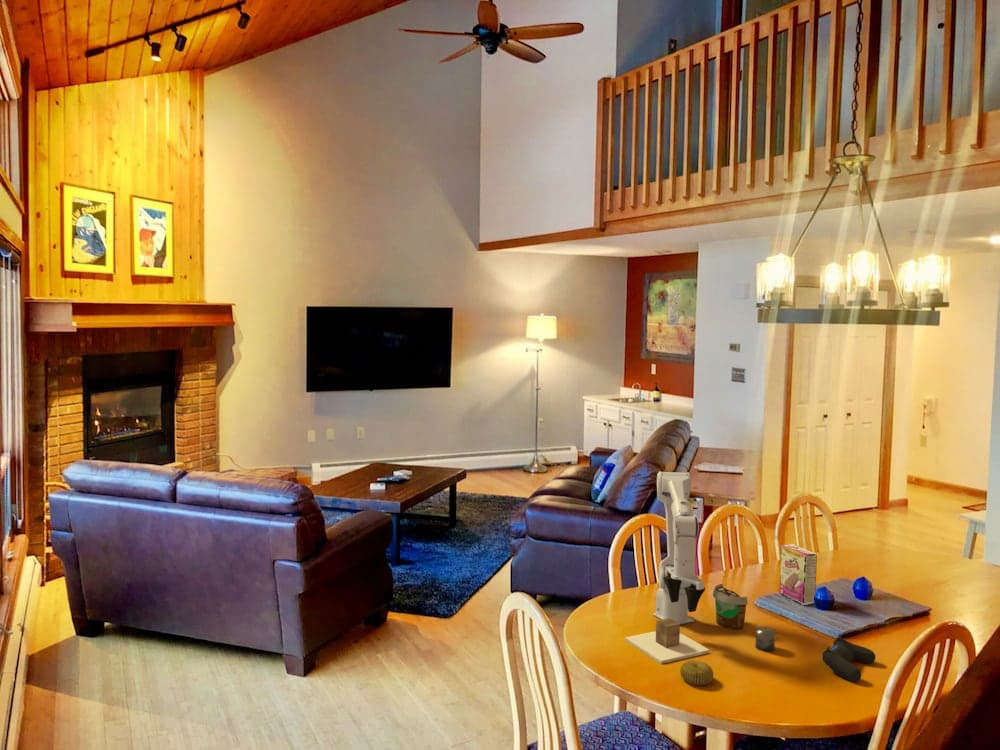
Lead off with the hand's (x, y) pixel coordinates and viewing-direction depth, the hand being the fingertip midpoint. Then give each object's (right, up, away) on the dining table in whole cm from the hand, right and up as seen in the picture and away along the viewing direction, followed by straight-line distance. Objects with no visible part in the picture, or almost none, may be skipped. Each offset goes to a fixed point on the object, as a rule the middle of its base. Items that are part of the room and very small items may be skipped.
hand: (683, 606), depth 220 cm
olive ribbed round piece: (-2, -12, -23) cm, 26 cm away
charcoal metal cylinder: (+21, -10, -4) cm, 24 cm away
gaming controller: (+39, -12, -16) cm, 43 cm away
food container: (+15, -9, +11) cm, 21 cm away
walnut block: (-5, -9, -4) cm, 11 cm away
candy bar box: (+44, -7, +32) cm, 55 cm away
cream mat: (-5, -10, -4) cm, 12 cm away
